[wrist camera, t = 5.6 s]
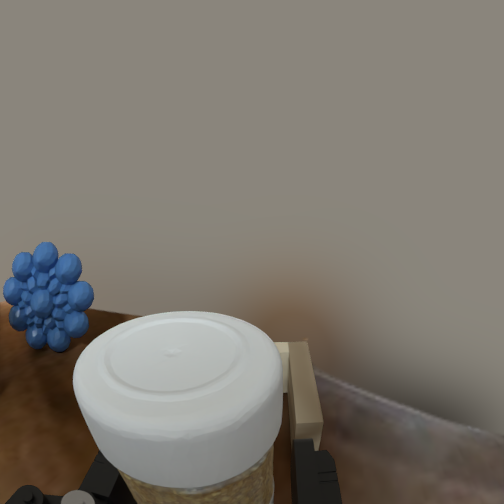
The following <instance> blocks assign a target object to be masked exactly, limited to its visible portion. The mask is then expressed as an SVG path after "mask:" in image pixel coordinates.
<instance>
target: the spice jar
mask: <svg viewBox="0 0 504 504" xmlns="http://www.w3.org/2000/svg"><path fill="white" fill-rule="evenodd" d="M73 388H74V392H75V396H76V399H77V402H78V404H79V407H80V409H81V412H82V414H83V417H84V419H85V421H86V423H87V426H88V428H89V430H90V432H91V434H92V436H93V438H94V440H95V442H96V444H97V446H98V448H99V449H100V451H101V452H102V454H103V455H104V456H105V458H106V459H107V460H108V461H109V462H110V463H111V464H113V465H114V466H115V467H116V468H117V469H118V471H119V472H120V474H121V475H122V477H123V479H124V481H125V482H126V484H127V486H128V488H129V490H130V491H131V493H132V495H133V497H134V499H135V500H136V502H137V503H138V504H273V500H274V478H273V451H274V445H273V443H274V441H275V439H276V437H277V435H278V432H279V429H280V426H281V421H282V407H283V367H282V360H281V357H280V353H279V351H278V349H277V347H276V345H275V344H274V342H273V341H272V340H271V339H270V338H269V337H268V336H267V335H266V334H265V333H264V332H262V331H261V330H260V329H259V328H257V327H255V326H254V325H252V324H250V323H248V322H246V321H243V320H240V319H237V318H234V317H231V316H227V315H223V314H218V313H211V312H199V311H179V312H166V313H158V314H153V315H148V316H144V317H140V318H136V319H133V320H130V321H127V322H124V323H122V324H119V325H117V326H115V327H113V328H111V329H109V330H107V331H106V332H104V333H103V334H101V335H100V336H98V337H97V338H95V339H94V340H93V341H92V342H91V343H90V344H89V345H88V346H87V347H86V348H85V349H84V351H83V352H82V353H81V355H80V357H79V358H78V360H77V362H76V365H75V368H74V374H73Z"/></svg>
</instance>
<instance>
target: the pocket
mask: <svg viewBox="0 0 504 504" xmlns="http://www.w3.org/2000/svg"><path fill="white" fill-rule="evenodd" d="M274 344H275V345H276V347H277V349H278V351H279V353H280V357H281V360H282V367H283V393H287V394H288V407H289V421H290V435H291V450H292V443H293V439H306V438H313V442H314V449H315V451H318V450H319V445H320V439H321V434H322V428H323V417H322V412H321V406H320V401H319V396H318V392H317V387H316V382H315V377H314V372H313V367H312V363H311V358H310V354H309V349H308V344H307V342H274Z"/></svg>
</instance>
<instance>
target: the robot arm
mask: <svg viewBox="0 0 504 504" xmlns="http://www.w3.org/2000/svg"><path fill="white" fill-rule="evenodd" d="M291 492H292V504H342V500H341V494H340V488H339V483H338V478H337V473H336V467H335V462H334V459H333V458H332V456H331V455H330V454H329V452H328V451H327V450H322V451H315V449H314V442H313V438H306V439H293V443H292V454H291ZM5 504H137V502H136V500H135V499H134V497H133V495H132V493H131V491H130V490H129V488H128V486H127V484H126V482H125V481H124V479H123V477H122V475H121V474H120V472H119V471H118V469H117V468H116V467H115V466H114V465H113V464H111V463H110V462H109V461H108V460H107V459H106V458H105V456H104V455H103V454H102V452H101V451H100V450H99V452H98V455H97V456H96V457H95V459H94V462H93V463H92V465H91V467H90V469H89V471H88V473H87V474H86V476H85V478H84V480H83V482H82V484H81V486H80V488H79V489H78V490H74V491H71V492H68V493H67V494H66V495H64V496H54V495H45V494H43V493H42V492H41V491H40V490H39V489H38V488H37V487H35V486H32V485H25V486H22V487H20V488H19V489H18V490H17V491H16V492H15V493H14V494H13V495H12V496H11V498H10V499H9V500H8V501H7V502H6V503H5Z"/></svg>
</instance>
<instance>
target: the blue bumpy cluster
mask: <svg viewBox="0 0 504 504" xmlns="http://www.w3.org/2000/svg"><path fill="white" fill-rule="evenodd" d="M12 271H13V274H14V277H10V278H9V279H8V280H7V281H6V282H5V285H4V288H3V289H4V290H3V295H4V298H5V300H6V302H8V303H9V304H11V305H14V306H13V307H12V308H11V310H10V313H9V322H10V325H11V326H12V328H13V329H15V330H17V331H24V330H26V329H27V331H26V341H27V343H28V344H29V346H31V347H32V348H34V349H41V348H43V347H44V346H45V345H46V343H48V345H49V347H50V348H51V349H52V350H54V351H56V352H63V351H64V350H66V349H67V348H68V347H69V344H70V342H71V340H70V336H71V337H73V338H80V337H81V336H83V335H84V334H85V333H86V332H87V330H88V327H89V322H88V317H87V316H86V314H85V313H84V312H83V311H85V310H86V309H88V308H89V307H90V306H91V304H92V302H93V300H94V293H93V288H92V287H91V285H90V284H88V283H87V282H85V281H77V280H78V278H79V277H80V275H81V273H82V265H81V261H80V259H79V258H78V257H77V256H76V255H75V254H64V255H62V256H61V257H60V258H59V260H58V251H57V248H56V247H55V246H54V244H52V243H51V242H42V243H41V244H39V245H38V246H37V247H36V249H35V251H34V254H33V256H32V255H31V254H30V253H29V252H21V253H19V254H18V255H16V257H15V259H14V261H13V264H12Z"/></svg>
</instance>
